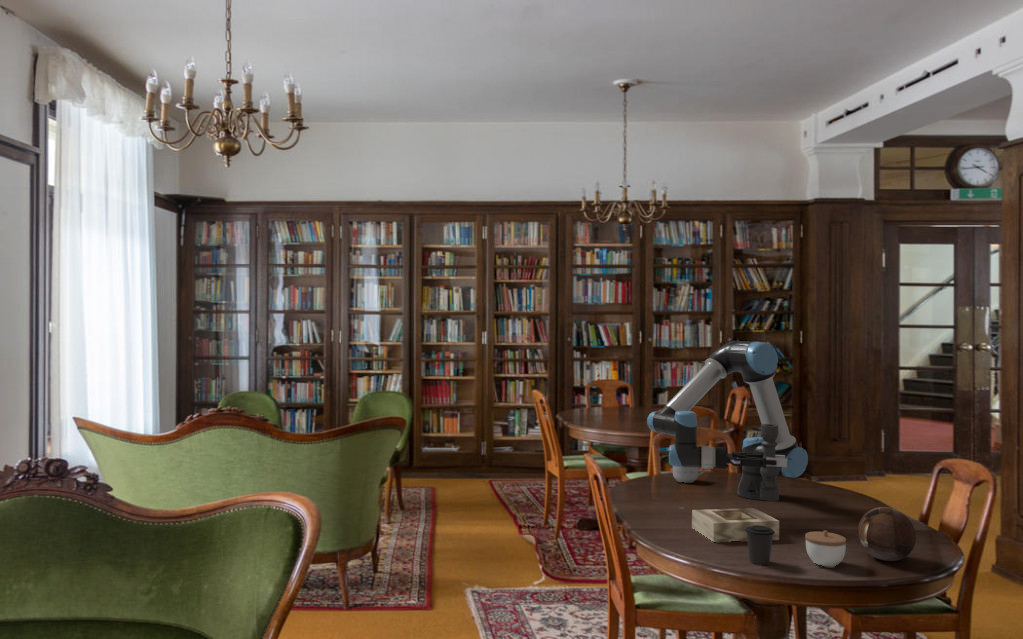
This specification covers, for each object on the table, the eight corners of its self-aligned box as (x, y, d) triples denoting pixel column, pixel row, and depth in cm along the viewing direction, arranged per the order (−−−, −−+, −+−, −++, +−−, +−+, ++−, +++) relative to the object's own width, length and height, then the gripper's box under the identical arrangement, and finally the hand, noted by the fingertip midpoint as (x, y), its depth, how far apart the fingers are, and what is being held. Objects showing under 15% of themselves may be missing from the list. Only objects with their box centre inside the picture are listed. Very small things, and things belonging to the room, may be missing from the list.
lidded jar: (803, 556, 215) (803, 524, 215) (843, 560, 212) (843, 527, 212) (806, 567, 205) (807, 534, 205) (848, 572, 202) (849, 538, 202)
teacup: (672, 483, 310) (673, 464, 310) (671, 478, 320) (671, 460, 320) (706, 485, 307) (707, 466, 307) (704, 480, 318) (704, 461, 318)
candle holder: (776, 501, 245) (776, 427, 245) (757, 499, 249) (757, 425, 249) (780, 497, 251) (781, 424, 251) (762, 495, 254) (762, 423, 254)
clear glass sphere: (906, 554, 219) (907, 503, 219) (922, 570, 204) (923, 516, 204) (852, 549, 222) (852, 500, 222) (864, 565, 207) (865, 512, 207)
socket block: (753, 525, 247) (753, 507, 247) (778, 539, 231) (779, 520, 231) (691, 528, 243) (692, 509, 243) (713, 542, 227) (713, 522, 227)
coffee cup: (739, 562, 209) (739, 526, 209) (752, 555, 215) (752, 521, 215) (767, 568, 204) (767, 532, 204) (779, 562, 210) (779, 527, 210)
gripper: (714, 463, 263) (783, 466, 257) (714, 474, 246) (788, 477, 240) (714, 442, 263) (783, 445, 257) (714, 451, 246) (788, 455, 239)
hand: (785, 461), depth 248 cm, fingers closed on candle holder, 5 cm apart
